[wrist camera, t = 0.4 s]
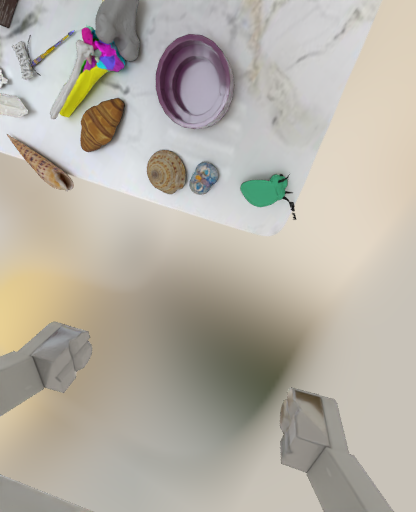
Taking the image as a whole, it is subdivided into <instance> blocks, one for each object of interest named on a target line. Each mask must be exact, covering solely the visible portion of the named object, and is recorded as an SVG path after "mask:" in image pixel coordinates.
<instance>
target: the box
mask: <svg viewBox="0 0 416 512" xmlns="http://www.w3.org/2000/svg"><path fill="white" fill-rule="evenodd" d="M17 1H18V0H0V25H2V26H4V27H7V28H9V25H10V22H11V19H12V16H13V13H14V9H15V7H16V4H17Z"/></svg>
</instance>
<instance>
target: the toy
mask: <svg viewBox="0 0 416 512" xmlns="http://www.w3.org/2000/svg"><path fill="white" fill-rule="evenodd" d="M289 173H290V172H289ZM288 177H289V175H288ZM288 177H287V178H288ZM287 178H285V177H284V176H283V175H282V174H280V175H277V174H276V175H273V176H272V177H271V178H270V181H266V180H250V181H247V182H244V183H243V184H242V185H241V188H240V189H241V191H242V193H243V195H244V197H245V198H246V200H247V201H248V202H249V203H251V204H252V205H254V206H257V207H264V206H268V205H271V204H273V203H274V202H276V201H277V200H281V199H285V200H287V201H288V202H289V200H288V199H287V198H286V197H284V196H285V194H286V193H292V192H287V191H285V188H286V187H287V184H288V182H287ZM292 203H293V202H289V204H290V206H291V208H292V209H291V210H292V211H295V210H294V203H293V205H292ZM292 215H293V216H294V217H293V218H294V219H293V220H296V217H295V216H296V215H295V213H292Z"/></svg>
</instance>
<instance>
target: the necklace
mask: <svg viewBox="0 0 416 512" xmlns="http://www.w3.org/2000/svg"><path fill="white" fill-rule="evenodd" d="M30 36H31V35H30ZM30 36H29V39H30ZM28 44H29V40H28ZM12 47H13V49H14V51H16V52H15V53H16V55H17V57H18V58H19V59H18V60H19V62H20V66H21V72H22V73H23V74H22V78H23V79H25V80H27V79H29V78H31V77H33V72H31V70H32V69H31V66H32V64H31V62H29V61H30V58H29V59H28V57H29V54H28V55H27V52H26V49H25V46H24V42H22V41H20V42H19V43H18V44H16V45H13V46H12ZM27 48H28V46H27ZM27 50H28V49H27ZM22 56H24V57H22ZM30 64H31V65H30ZM23 66H26V67H23ZM32 68H33V66H32ZM33 69H34V68H33ZM26 70H28V71H26ZM34 71H35V70H34ZM35 72H36V71H35ZM36 73H37V72H36ZM37 74H38V73H37ZM38 75H40V74H38ZM40 76H41V75H40Z"/></svg>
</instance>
